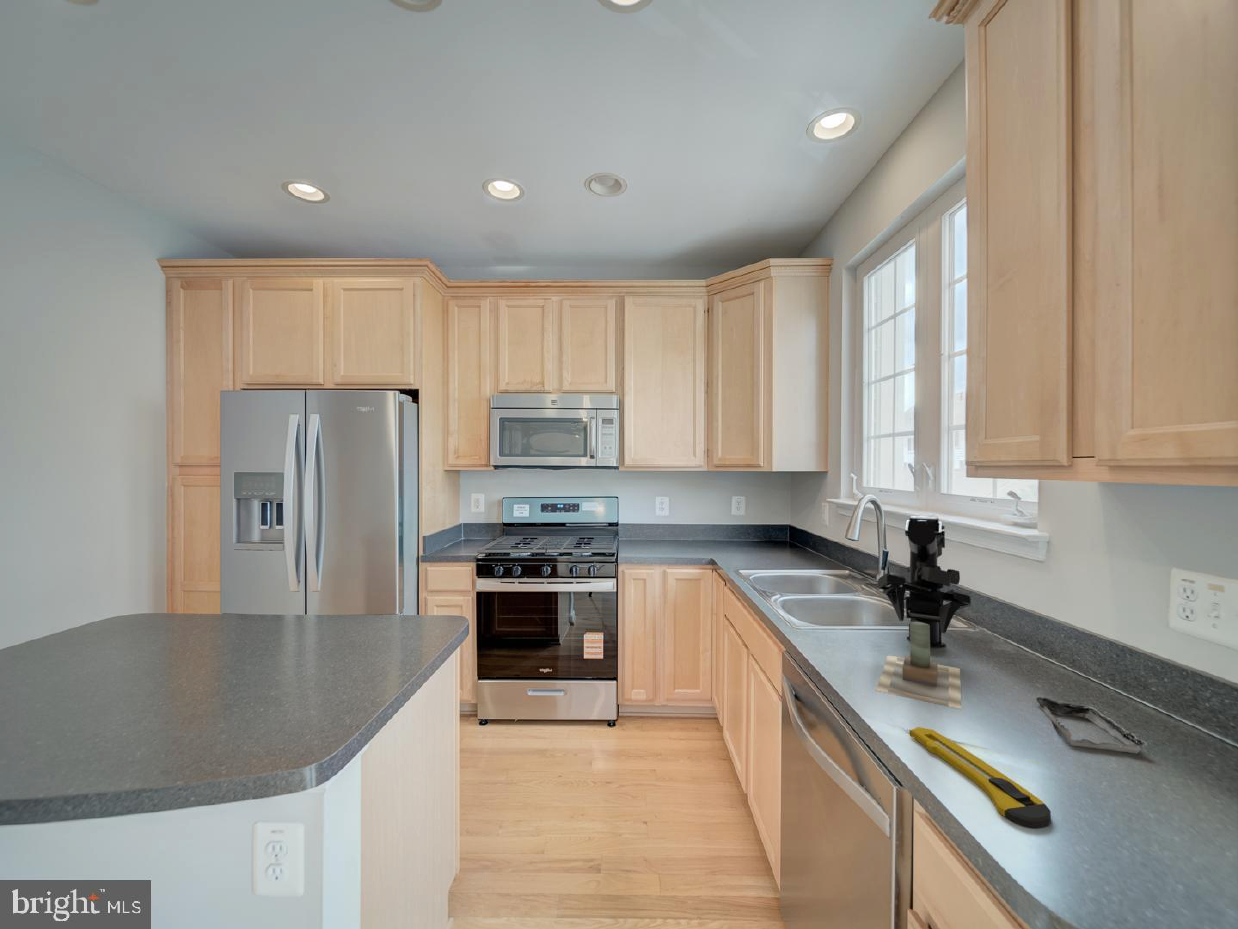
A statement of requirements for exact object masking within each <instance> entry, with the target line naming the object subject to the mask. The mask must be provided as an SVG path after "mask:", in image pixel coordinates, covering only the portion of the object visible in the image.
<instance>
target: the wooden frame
mask: <svg viewBox="0 0 1238 929" xmlns="http://www.w3.org/2000/svg"><path fill="white" fill-rule="evenodd" d="M904 659H905V657H899V656H892V655H887V656H886V660H885V662H884V666H883V669H882V671H881V674H880V677H879V680H878V684H877V687H876V691H878V692H880V693H881V692H882V693H884V694H885V693H886V694H889V695H890V694H891V695H893V696H894V695H895V696H900V697H904V698H909V699H912V700H913V699H914V700H917V701H922V702H927V703H931V704H936V705H940V706H944V707H950V708H953V709H957V710H962V692H961V691H962V690H961V689H962V688H961V669H960V668H959V667H954V666H949V665H943V664H938V663H937V666H938V674H937V687H935V686H930V685H926V684H921V683H916V682H911V681H906V680H903V672H902V668H903V663H904Z"/></svg>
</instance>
